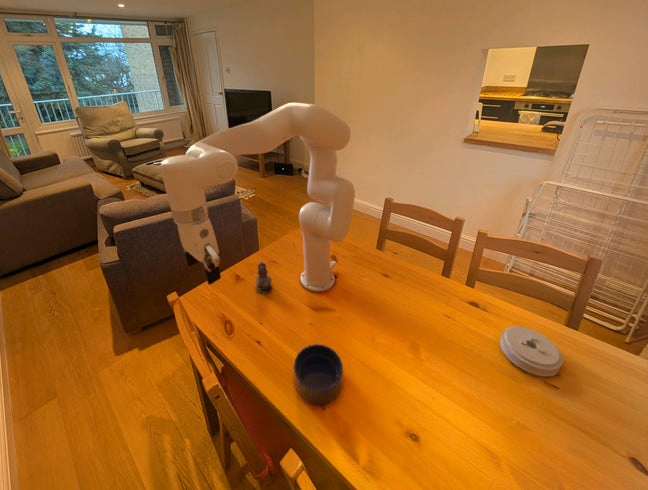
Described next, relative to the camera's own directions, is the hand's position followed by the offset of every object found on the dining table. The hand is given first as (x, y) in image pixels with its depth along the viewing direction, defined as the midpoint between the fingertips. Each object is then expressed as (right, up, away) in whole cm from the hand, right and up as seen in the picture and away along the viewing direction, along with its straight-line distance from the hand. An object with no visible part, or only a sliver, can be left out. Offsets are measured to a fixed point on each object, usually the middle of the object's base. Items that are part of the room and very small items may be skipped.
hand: (204, 271), depth 72 cm
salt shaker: (+12, -16, +35) cm, 41 cm away
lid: (+85, -24, +6) cm, 89 cm away
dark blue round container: (+29, -29, +3) cm, 41 cm away
